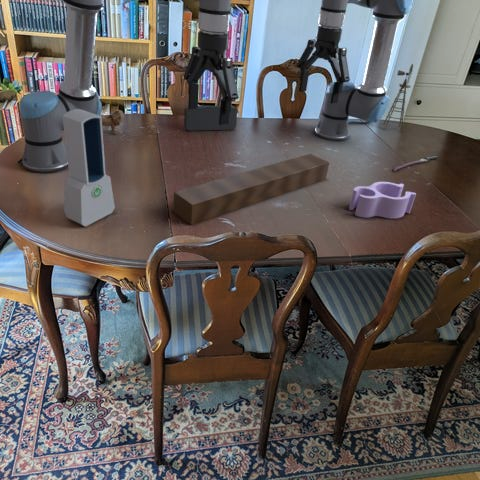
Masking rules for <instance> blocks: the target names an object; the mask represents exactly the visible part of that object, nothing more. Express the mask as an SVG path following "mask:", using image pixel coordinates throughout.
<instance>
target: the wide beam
mask: <svg viewBox="0 0 480 480" xmlns="http://www.w3.org/2000/svg"><path fill="white" fill-rule="evenodd" d="M329 167H330V161H327V160H325V159H323V158H321V157H319V156H317V155H314V154H313V153H307V154H304V155H301V156H297V157H293V158H290V159H286V160H283V161H279V162H276V163H272V164H269V165H265V166H262V167H257V168H255V169H251V170H247V171H243V172H240V173H237V174H233V175H229V176H226V177H221V178H219V179H215V180H211V181H208V182H204V183H202V184H198V185H193V186H191V187H187V188H183V189H179V190H176V191H173V213H175V214H176V215H177V216H178V217H180V218H181V219H183V220H184V221H185V222H187V223H188V224H190V225H191V226H193V225H197V224H199V223H202V222H205V221H207V220H210V219H214V218H217V217H220V216H222V215H223V216H224V215H225V214H228V213H231V212H234V211H237V210H240V209H243V208H246V207H249V206H252V205H254V204H255V205H256V204H258V203H261V202H263V201H266V200H269V199H272V198H276V197H278V196H281V195H284V194H286V193H290V192H293V191H296V190H299V189H302V188H305V187H308V186H311V185H315V184H316V183H319V182H323V181H326V179H327V176H328V171H329Z"/></svg>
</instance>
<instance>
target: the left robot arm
mask: <svg viewBox="0 0 480 480" xmlns="http://www.w3.org/2000/svg"><path fill="white" fill-rule="evenodd" d="M61 1H62V2H63V4H64V5H65V6H66V20H65V21H66V23H65V45H64V46H65V48H64V49H65V51H64V79H63V80H62V81H61V82H60V83H59V84H58V93H57V94H56V92H54V91H51V90H41V91H40V90H37V91H32V92H29V93H26V94H24V95H23V96H22V97H21V98H20V100H19V103H18V104H19V116H20V119H21V125H22V132H23V137H24V148H23V153H22V157H20V159H19V160H18V161H17V164H21V163H22V166H23V168H24V169H25V170H27V171H29V172H33V173H39V174H46V173H56V172H61V171H63V170H66V169H67V168H68V159H67V150H66V144H65V143H64V140H63V132H64V125H63V115H64V114H65V113H67V112H69V111H71V110H74V109H80V110H84V111H87V112H90V113H93V114H96V115H99V116H101V115H102V110H103V106H102V105H103V104H102V102H101V101H100V100H101V97H100V95H99V94H98V92H97V90H96V87H94V86H93V84H92V83H93V73H94V72H93V71H94V56H95V44H96V30H97V19H98V17H97V16H98V13H99V12H100V11H102V10H103V8H104V0H61ZM136 1H142V2H143V1H144V0H136ZM194 2H198V6H199V8H198V22H197V29H198V32H197V44H196V46H192V47H191V53H190V57H189V60H188V63H187V67H186V68H185V71H184V74H183V80H184V81H186V82H187V85H188V87H187V89H188V90H187V91H188V92H187V93H188V106H187V107H188V109H195V108H198V106H199V92H200V82H199V80H200V79H201V77H203V75H204V73H205V72H206V71H208V72H209V73H211V74H212V76H214V77H215V80H216V83H217V86H218V89H219V91H220V94H221V96H222V98H220V103H219V106H220V115H219V125H225V124H229V113H230V112H231V106H232V103H233V101H234V100H235V101H236V100H238V99H239V93H238V88H237V83H236V78H235V77H236V76H235V73H234V59H233V57H225V51H227V49H228V44H229V35H228V32H229V30H230V17H231V4H232V3H231V2H232V0H194Z"/></svg>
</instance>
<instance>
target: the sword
mask: <svg viewBox="0 0 480 480" xmlns="http://www.w3.org/2000/svg"><path fill="white" fill-rule="evenodd" d="M440 158H441V157H440V155H433V156H430V157H423V158H421V159H418V160H414V161H410V162H407V163H403V164H401V165H398V166H395V167H394V168H393V172H397V171H398V170H400V169H403V168H405V167H408V166H413V165H415V164H420V163H423V162H429V161H430V160H434V159H440Z"/></svg>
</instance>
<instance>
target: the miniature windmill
mask: <svg viewBox="0 0 480 480" xmlns="http://www.w3.org/2000/svg"><path fill="white" fill-rule="evenodd" d="M413 68H414V64H413V63H411V65H410V67H409V70H408V72H405V71H403V70H398V71H397V74H396V76H405V79H404V80H403V83H399V85H398V86H399V90H398V92H397V95H396V97H395V98H394V101H393V103H392V105H391V107H390V108H389V111H388V113H387V115H386V116H385V120H384V121H383V125H385V126H384V130H386V129H387V127H388V125H389V123H392V124H393V123H394V124H399V125H398V126H399V127H400V132H402V131H403V125H404V113H405V105H406V104H405V103H406V94H407V89H408V88H409V89H410V88H411V85H409V83H410V80H411V77H412V74H413ZM403 89H404V90H403ZM401 94H403V97H402V98H400V96H401ZM397 103H402V104H401V107H396V105H397ZM395 109H397V110H395ZM394 112H397V113H400V117H393V113H394ZM391 119H395V120H399V122H397V121H392V120H391ZM401 129H402V130H401Z"/></svg>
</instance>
